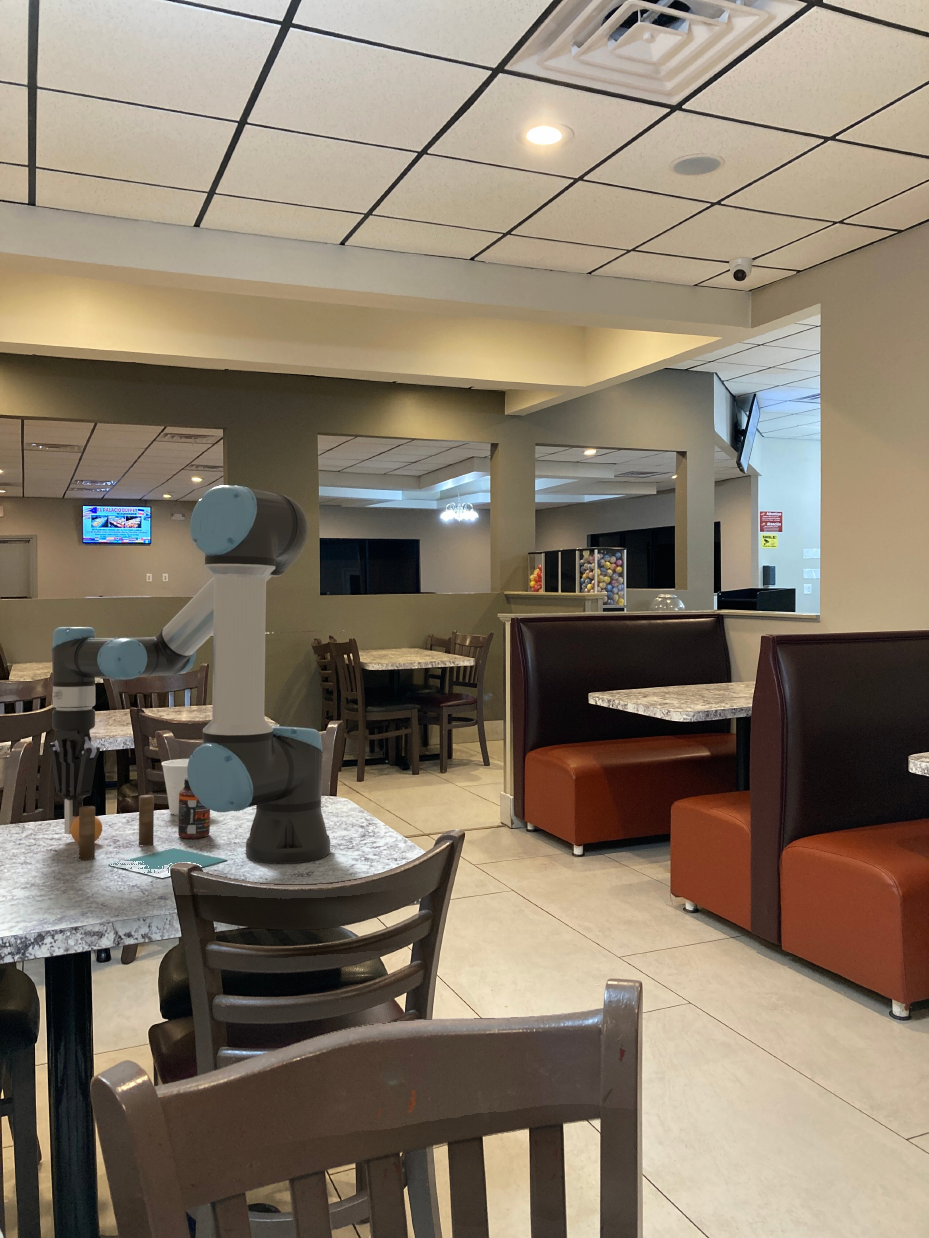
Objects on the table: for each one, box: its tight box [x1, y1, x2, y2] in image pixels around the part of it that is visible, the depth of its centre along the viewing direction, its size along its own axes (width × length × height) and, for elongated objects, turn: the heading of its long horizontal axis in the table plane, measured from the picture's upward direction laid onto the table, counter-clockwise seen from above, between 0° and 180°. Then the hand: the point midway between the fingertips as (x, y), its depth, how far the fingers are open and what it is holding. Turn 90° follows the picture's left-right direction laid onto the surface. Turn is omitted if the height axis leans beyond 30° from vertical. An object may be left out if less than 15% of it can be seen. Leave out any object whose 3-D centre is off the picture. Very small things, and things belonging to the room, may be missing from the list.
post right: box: [138, 794, 155, 847], centre depth 176 cm, size 3×3×9 cm
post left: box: [78, 805, 96, 861], centre depth 165 cm, size 3×3×9 cm
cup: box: [161, 758, 189, 816], centre depth 203 cm, size 10×10×11 cm
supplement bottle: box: [177, 777, 211, 840], centre depth 183 cm, size 6×6×11 cm
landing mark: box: [108, 847, 228, 873], centre depth 163 cm, size 14×14×1 cm
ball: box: [70, 815, 103, 844], centre depth 175 cm, size 6×6×6 cm
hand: (73, 832), depth 178 cm, fingers closed
